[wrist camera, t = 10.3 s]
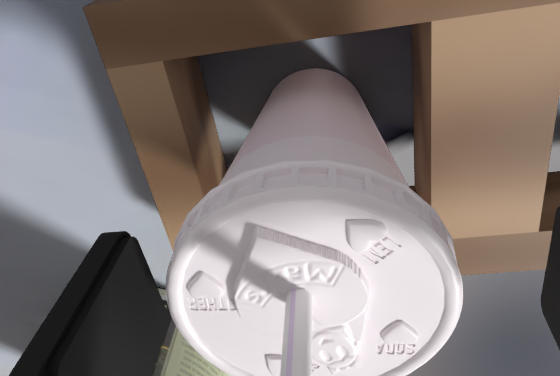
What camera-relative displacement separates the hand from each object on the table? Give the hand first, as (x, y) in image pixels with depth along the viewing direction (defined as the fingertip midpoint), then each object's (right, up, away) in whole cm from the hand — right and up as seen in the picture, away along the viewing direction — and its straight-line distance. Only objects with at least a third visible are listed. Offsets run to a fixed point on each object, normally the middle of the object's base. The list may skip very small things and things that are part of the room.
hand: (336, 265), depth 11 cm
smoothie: (0, +5, +7) cm, 9 cm away
